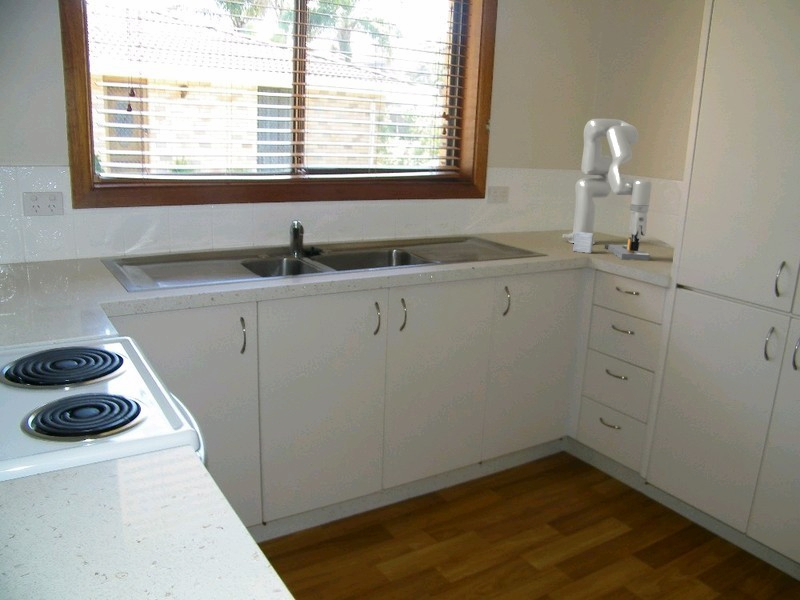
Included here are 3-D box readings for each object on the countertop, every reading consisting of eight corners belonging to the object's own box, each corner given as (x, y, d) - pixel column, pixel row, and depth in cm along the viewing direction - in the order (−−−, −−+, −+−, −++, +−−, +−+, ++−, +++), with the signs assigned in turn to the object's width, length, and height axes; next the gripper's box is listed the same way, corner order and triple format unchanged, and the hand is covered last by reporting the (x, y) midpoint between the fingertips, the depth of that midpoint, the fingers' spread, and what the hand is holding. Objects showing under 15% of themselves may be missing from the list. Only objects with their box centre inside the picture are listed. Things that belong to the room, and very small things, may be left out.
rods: (606, 249, 330) (606, 245, 330) (604, 247, 334) (604, 244, 334) (636, 250, 330) (636, 247, 330) (633, 249, 334) (634, 245, 333)
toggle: (627, 255, 312) (630, 238, 310) (626, 254, 315) (628, 237, 313) (634, 255, 312) (637, 238, 310) (633, 254, 315) (635, 237, 313)
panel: (621, 259, 306) (622, 253, 306) (608, 249, 330) (608, 244, 329) (649, 260, 306) (650, 254, 305) (633, 250, 329) (634, 245, 329)
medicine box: (592, 252, 321) (594, 233, 319) (590, 253, 317) (592, 234, 315) (574, 250, 324) (576, 231, 322) (572, 251, 320) (574, 232, 318)
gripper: (653, 211, 297) (647, 254, 301) (643, 207, 311) (637, 248, 316) (635, 210, 297) (629, 253, 302) (625, 206, 312) (620, 247, 316)
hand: (633, 250), depth 309 cm, fingers closed
